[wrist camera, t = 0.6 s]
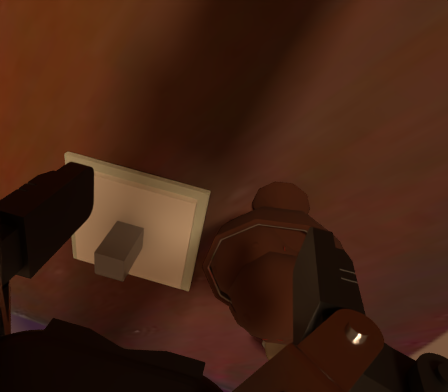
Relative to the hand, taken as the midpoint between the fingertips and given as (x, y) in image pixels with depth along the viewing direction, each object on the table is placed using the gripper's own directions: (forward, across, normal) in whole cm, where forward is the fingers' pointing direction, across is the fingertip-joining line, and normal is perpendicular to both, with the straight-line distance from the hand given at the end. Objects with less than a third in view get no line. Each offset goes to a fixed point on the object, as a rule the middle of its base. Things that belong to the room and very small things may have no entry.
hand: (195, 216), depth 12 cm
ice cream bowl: (+19, -5, +9) cm, 22 cm away
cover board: (+19, +9, +17) cm, 27 cm away
